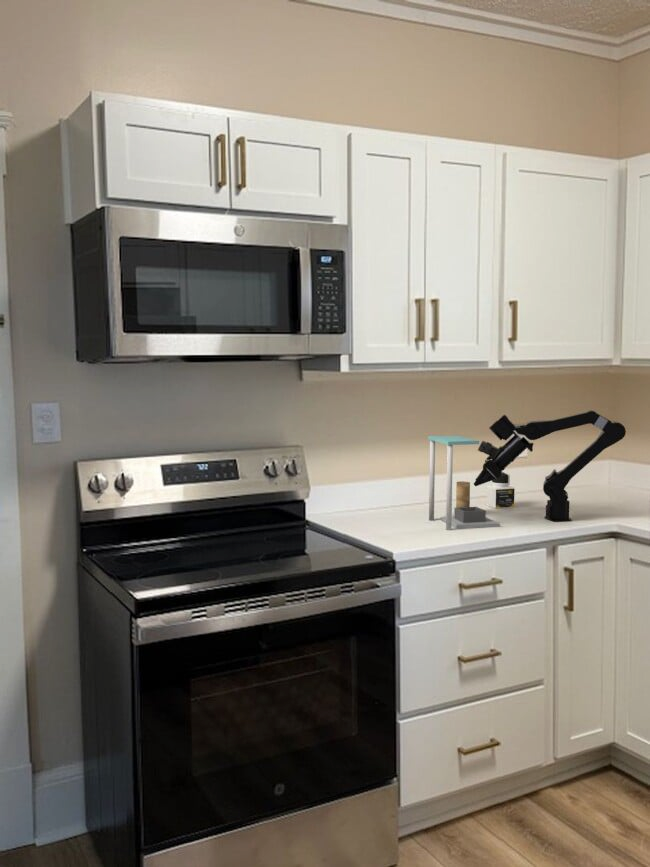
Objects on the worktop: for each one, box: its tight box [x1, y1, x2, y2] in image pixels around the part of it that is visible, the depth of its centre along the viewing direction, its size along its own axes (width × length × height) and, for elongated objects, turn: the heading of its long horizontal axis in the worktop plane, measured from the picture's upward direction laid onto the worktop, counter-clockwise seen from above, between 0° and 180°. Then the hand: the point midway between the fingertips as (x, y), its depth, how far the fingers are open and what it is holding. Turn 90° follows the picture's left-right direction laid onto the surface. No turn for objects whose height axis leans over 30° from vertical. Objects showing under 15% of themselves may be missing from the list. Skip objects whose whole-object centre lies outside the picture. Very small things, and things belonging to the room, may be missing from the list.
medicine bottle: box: [486, 471, 516, 510], centre depth 303 cm, size 7×7×12 cm
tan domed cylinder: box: [455, 480, 471, 508], centre depth 287 cm, size 4×4×11 cm
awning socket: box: [427, 435, 501, 531], centre depth 272 cm, size 18×17×27 cm
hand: (475, 483), depth 285 cm, fingers open, 9 cm apart
